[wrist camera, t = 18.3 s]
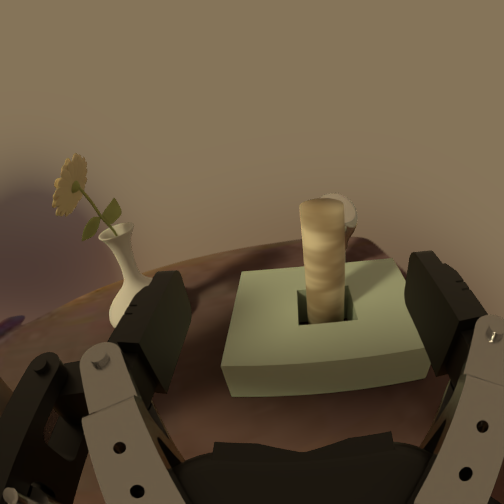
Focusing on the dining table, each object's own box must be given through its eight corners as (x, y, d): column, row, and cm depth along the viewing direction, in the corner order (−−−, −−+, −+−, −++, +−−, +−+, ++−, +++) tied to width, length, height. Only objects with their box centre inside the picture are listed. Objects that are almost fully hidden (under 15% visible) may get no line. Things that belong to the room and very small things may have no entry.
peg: (309, 351, 32) (300, 215, 25) (307, 327, 36) (298, 200, 28) (344, 348, 31) (348, 211, 24) (340, 324, 35) (339, 196, 28)
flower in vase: (142, 289, 49) (96, 144, 38) (197, 297, 45) (154, 127, 33) (93, 338, 39) (24, 174, 27) (150, 357, 34) (72, 155, 23)
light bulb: (322, 284, 43) (318, 205, 37) (307, 262, 49) (301, 191, 43) (364, 273, 43) (366, 197, 38) (345, 253, 49) (343, 184, 44)
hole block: (231, 396, 28) (220, 366, 26) (247, 301, 42) (241, 271, 40) (425, 378, 25) (437, 344, 23) (389, 289, 39) (392, 258, 37)
